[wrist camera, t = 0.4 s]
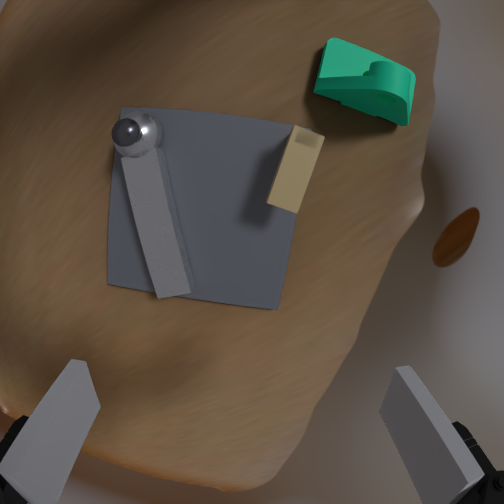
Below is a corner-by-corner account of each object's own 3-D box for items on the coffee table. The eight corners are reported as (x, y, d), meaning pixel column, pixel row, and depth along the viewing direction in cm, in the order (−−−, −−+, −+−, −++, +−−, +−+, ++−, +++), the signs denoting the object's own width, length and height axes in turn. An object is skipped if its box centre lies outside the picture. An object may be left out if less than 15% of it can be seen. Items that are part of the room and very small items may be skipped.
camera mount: (406, 77, 31) (450, 58, 21) (398, 127, 33) (444, 119, 23) (323, 43, 30) (349, 7, 20) (311, 94, 32) (336, 70, 22)
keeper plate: (126, 109, 31) (100, 97, 24) (309, 130, 33) (327, 122, 26) (112, 279, 37) (87, 303, 30) (277, 304, 39) (284, 335, 32)
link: (120, 123, 30) (98, 116, 25) (160, 110, 30) (144, 100, 24) (160, 289, 36) (147, 310, 30) (198, 282, 36) (191, 303, 30)
